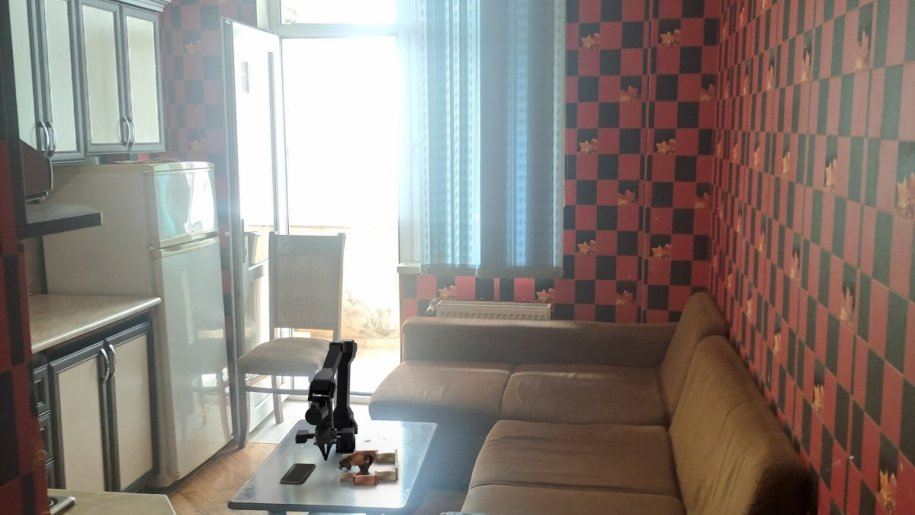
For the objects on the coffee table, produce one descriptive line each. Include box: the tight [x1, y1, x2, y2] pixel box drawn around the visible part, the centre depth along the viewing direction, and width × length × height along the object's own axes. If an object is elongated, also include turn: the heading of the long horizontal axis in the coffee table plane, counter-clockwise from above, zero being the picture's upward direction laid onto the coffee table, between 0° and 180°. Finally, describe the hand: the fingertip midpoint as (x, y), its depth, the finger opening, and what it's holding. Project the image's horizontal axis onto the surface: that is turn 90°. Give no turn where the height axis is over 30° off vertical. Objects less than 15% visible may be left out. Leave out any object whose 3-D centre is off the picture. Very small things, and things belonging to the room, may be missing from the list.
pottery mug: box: [337, 451, 375, 476], centre depth 271 cm, size 12×9×8 cm
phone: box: [279, 462, 317, 485], centre depth 270 cm, size 8×1×15 cm
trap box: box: [339, 448, 399, 487], centre depth 272 cm, size 18×22×4 cm
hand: (326, 460), depth 271 cm, fingers closed
